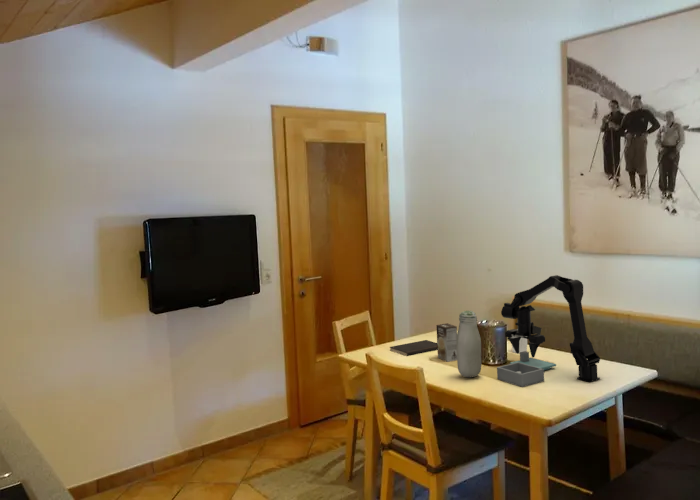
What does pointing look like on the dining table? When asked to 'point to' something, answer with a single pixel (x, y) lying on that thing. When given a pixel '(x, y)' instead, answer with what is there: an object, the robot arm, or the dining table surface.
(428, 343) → the hardcover book
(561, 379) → the dining table surface
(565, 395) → the dining table surface
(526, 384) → the parts tub
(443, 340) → the coffee box
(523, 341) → the white cup
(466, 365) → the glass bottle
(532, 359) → the lid
